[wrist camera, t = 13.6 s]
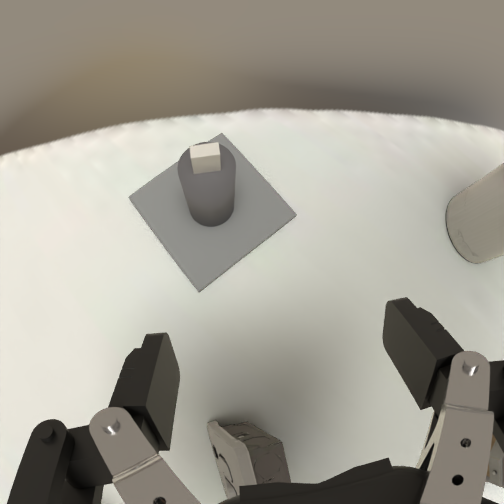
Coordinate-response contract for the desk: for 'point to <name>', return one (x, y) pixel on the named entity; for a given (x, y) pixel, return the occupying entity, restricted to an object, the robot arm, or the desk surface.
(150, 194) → the mat
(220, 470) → the electrical switch
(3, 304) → the desk surface
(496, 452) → the tankard
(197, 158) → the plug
